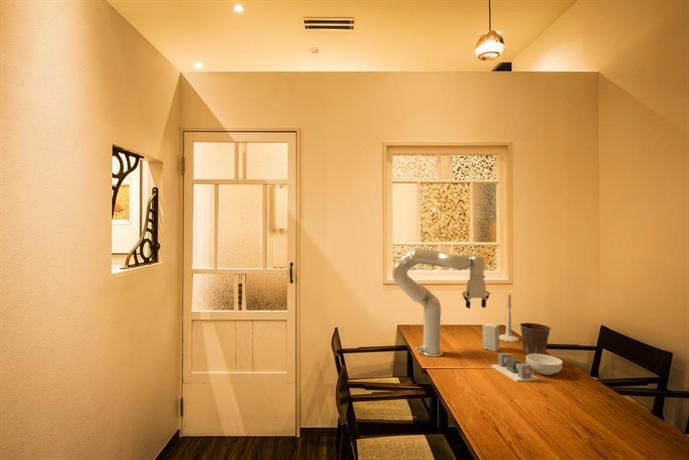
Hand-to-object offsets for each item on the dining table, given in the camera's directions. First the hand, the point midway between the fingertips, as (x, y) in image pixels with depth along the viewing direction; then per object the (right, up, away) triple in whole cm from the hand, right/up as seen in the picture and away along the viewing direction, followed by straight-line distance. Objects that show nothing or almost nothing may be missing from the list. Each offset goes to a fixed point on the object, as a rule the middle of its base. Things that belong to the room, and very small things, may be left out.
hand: (475, 307), depth 220 cm
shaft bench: (+11, -29, -23) cm, 39 cm away
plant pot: (+37, -29, +7) cm, 47 cm away
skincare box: (+14, -28, +14) cm, 35 cm away
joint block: (+11, -28, -23) cm, 38 cm away
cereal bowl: (+27, -29, -22) cm, 45 cm away
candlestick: (+34, -28, +35) cm, 56 cm away
